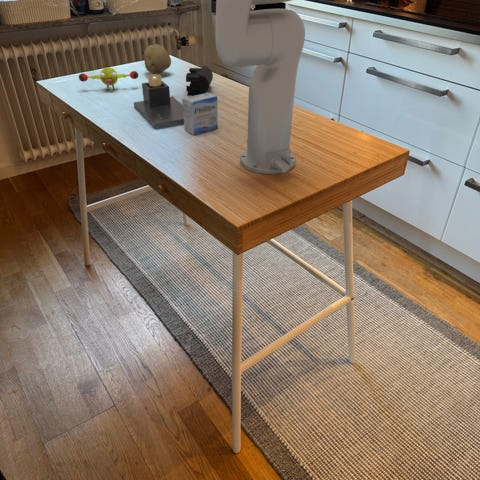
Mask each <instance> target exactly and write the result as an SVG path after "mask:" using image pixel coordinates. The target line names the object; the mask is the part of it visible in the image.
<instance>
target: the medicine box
mask: <svg viewBox="0 0 480 480" xmlns="http://www.w3.org/2000/svg"><path fill="white" fill-rule="evenodd" d="M182 105H183V113H184V126H183V127H184V131H186V132H187V133H189V134H191V135H193V136H196V135H201V134H203V133H206V132H211V131H213V130H216V129H218V128H219V122H218V121H219V117H218V116H219V114H218V112H219V111H218V110H219V109H218V96H216V95H215V94H213V93H210V92H206V93H204V94H199V95H195V96H186V97H183V98H182Z"/></svg>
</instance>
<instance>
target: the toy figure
mask: <svg viewBox="0 0 480 480" xmlns="http://www.w3.org/2000/svg"><path fill="white" fill-rule="evenodd" d="M127 77H130V78H131V79H132V80H137V79H138V77H139V73H138V72H137V71H136V70H132V71H131V72H130V73H129V74H126V73H122V74H120V73H117V72H116V70H115V69H113V68H111V67H105V68H103V69H102V70H101V71H100V74H98V75H94V74H93V75H91V76H88V74H86V73H84V72H83V73H80V74H79V75H78V80H79V81H81V83H82V82H87V80H88V79H92V80H96V79H97V80H101V82H102V83H103V84H104V85H106V90H107V91H108V92H109V91H110V86H112V87H111V88H112V91H115V84H116V83H117V82H118V80H119V79H121V78H124V79H125V78H127Z"/></svg>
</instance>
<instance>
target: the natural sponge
mask: <svg viewBox="0 0 480 480" xmlns="http://www.w3.org/2000/svg"><path fill="white" fill-rule="evenodd" d="M143 60H144V67H145V69H146V71H147V72H149V73H151V74H159V75H161V74H163V72H164V71H166V70H168V69H169V68H170V67H171V65H172V59H171V56H170V54H169V52H168V51H167V49H165V47H164V46H163V45H160V44H158V43H154V44H150V45H148V46H147V47H146V48H145V50H144V51H143Z"/></svg>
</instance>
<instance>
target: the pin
mask: <svg viewBox="0 0 480 480" xmlns="http://www.w3.org/2000/svg"><path fill="white" fill-rule="evenodd" d="M147 81H148V82H149V88H157V87H162V81H163V80H162V75H161V74H160V75H159V74H152V73H151V74H148V75H147ZM148 82H147V83H148Z"/></svg>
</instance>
